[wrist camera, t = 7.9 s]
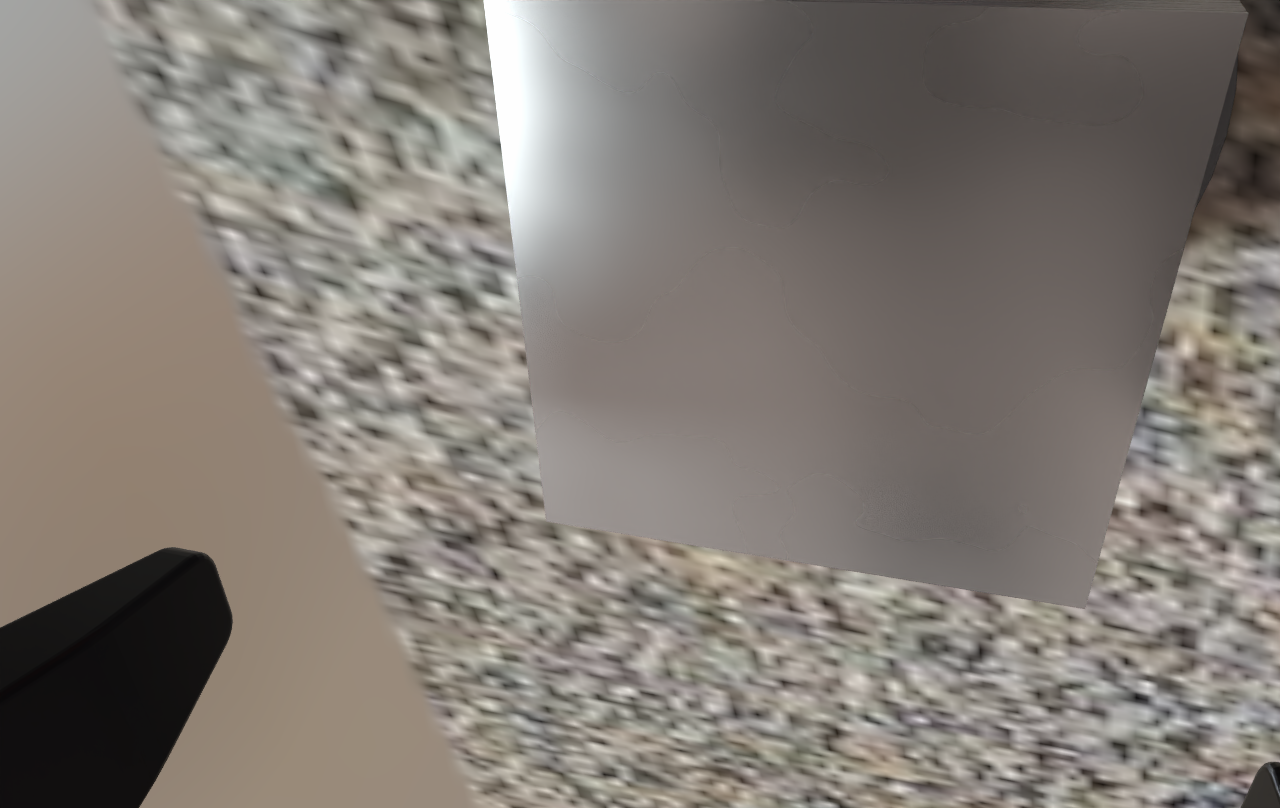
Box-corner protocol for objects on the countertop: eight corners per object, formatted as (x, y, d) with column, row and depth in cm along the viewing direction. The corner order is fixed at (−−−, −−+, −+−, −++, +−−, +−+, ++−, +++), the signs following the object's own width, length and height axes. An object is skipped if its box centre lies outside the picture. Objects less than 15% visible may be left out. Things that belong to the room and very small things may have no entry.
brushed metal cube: (1063, 326, 16) (1084, 609, 11) (674, 288, 17) (545, 521, 12) (1156, -118, 12) (1247, 13, 8) (663, -117, 14) (483, -8, 9)
